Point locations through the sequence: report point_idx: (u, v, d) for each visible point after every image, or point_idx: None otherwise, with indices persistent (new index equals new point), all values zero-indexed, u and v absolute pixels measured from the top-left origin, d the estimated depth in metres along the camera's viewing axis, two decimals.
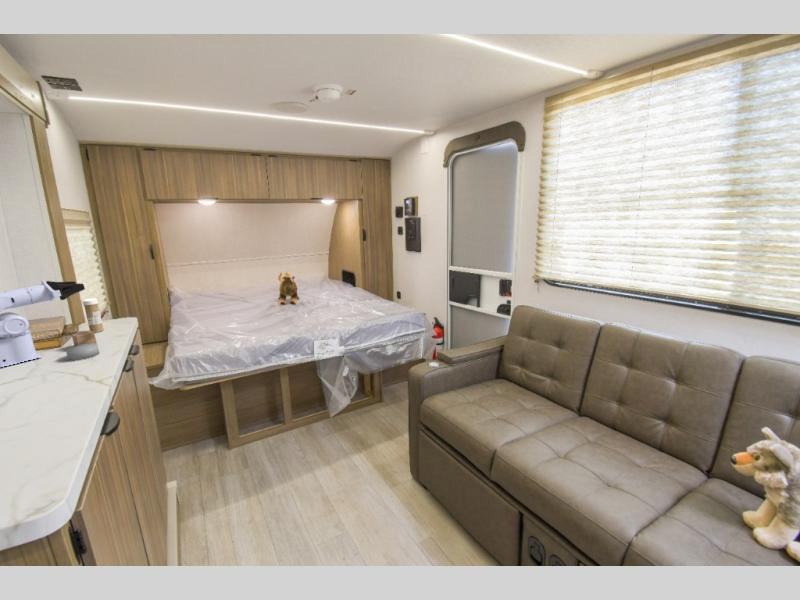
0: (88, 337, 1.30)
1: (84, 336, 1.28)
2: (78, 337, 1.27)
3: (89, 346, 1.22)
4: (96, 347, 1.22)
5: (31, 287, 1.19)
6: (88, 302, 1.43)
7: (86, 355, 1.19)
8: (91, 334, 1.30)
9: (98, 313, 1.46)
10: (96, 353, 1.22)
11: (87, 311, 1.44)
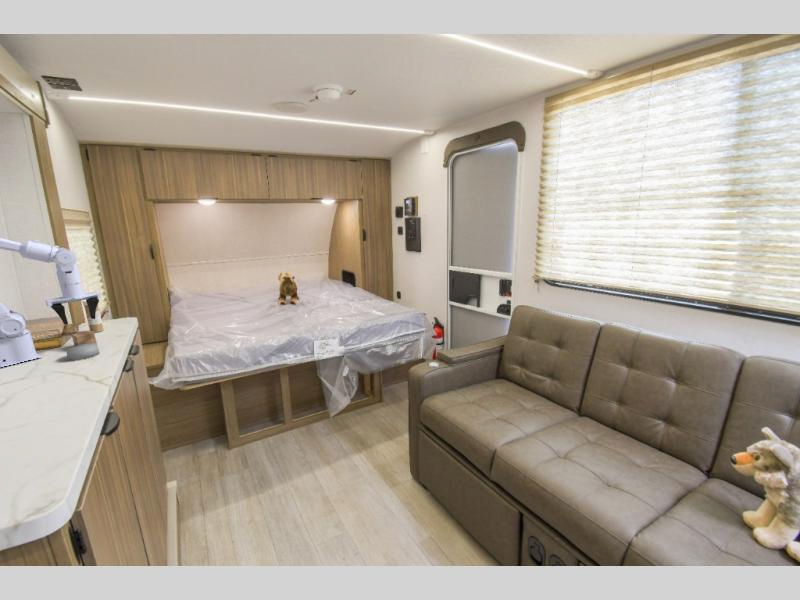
0: (88, 337, 1.29)
1: (84, 336, 1.28)
2: (78, 337, 1.27)
3: (89, 346, 1.22)
4: (96, 347, 1.22)
5: (70, 288, 1.24)
6: None
7: (86, 355, 1.19)
8: (91, 334, 1.30)
9: (98, 313, 1.46)
10: (96, 353, 1.22)
11: (87, 311, 1.44)
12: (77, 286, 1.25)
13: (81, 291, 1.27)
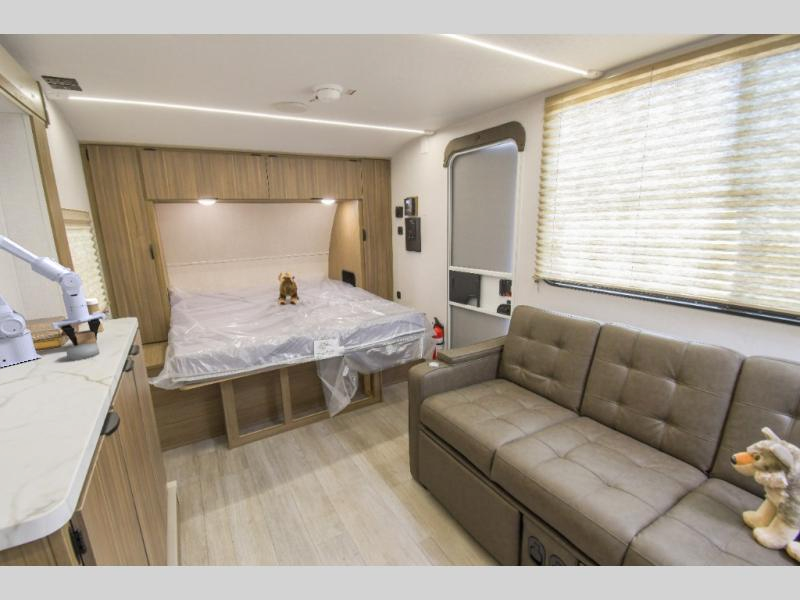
0: (88, 337, 1.29)
1: (84, 336, 1.28)
2: (78, 337, 1.27)
3: (89, 346, 1.22)
4: (96, 347, 1.22)
5: (76, 311, 1.26)
6: (88, 302, 1.43)
7: (86, 355, 1.19)
8: (91, 334, 1.30)
9: (98, 313, 1.46)
10: (96, 353, 1.22)
11: None
12: (82, 308, 1.27)
13: (86, 313, 1.29)
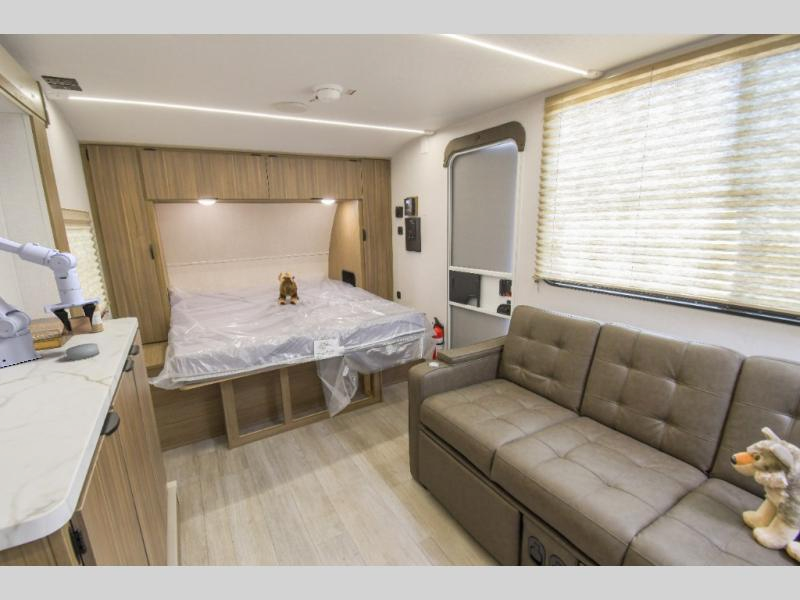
0: (83, 322, 1.23)
1: (78, 321, 1.22)
2: (72, 322, 1.21)
3: (89, 346, 1.22)
4: (96, 347, 1.22)
5: (69, 294, 1.19)
6: None
7: (86, 355, 1.19)
8: (86, 319, 1.24)
9: (98, 313, 1.46)
10: (96, 353, 1.22)
11: None
12: (77, 292, 1.21)
13: (81, 297, 1.22)
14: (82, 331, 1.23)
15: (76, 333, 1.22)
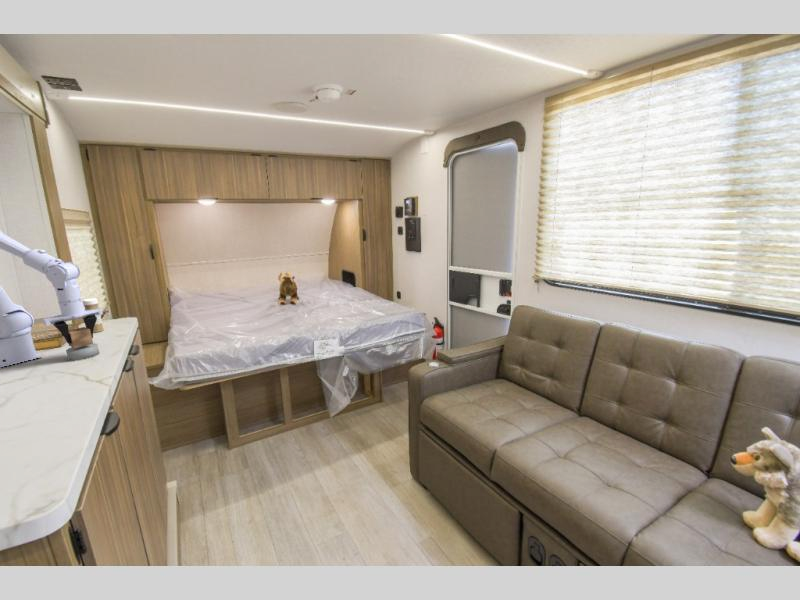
0: (83, 334, 1.19)
1: (79, 333, 1.18)
2: (72, 334, 1.17)
3: (89, 346, 1.22)
4: (96, 347, 1.22)
5: (70, 305, 1.15)
6: (88, 302, 1.43)
7: (86, 355, 1.19)
8: (86, 331, 1.20)
9: None
10: (96, 353, 1.22)
11: None
12: (77, 303, 1.17)
13: (81, 308, 1.18)
14: (83, 343, 1.19)
15: (76, 346, 1.18)
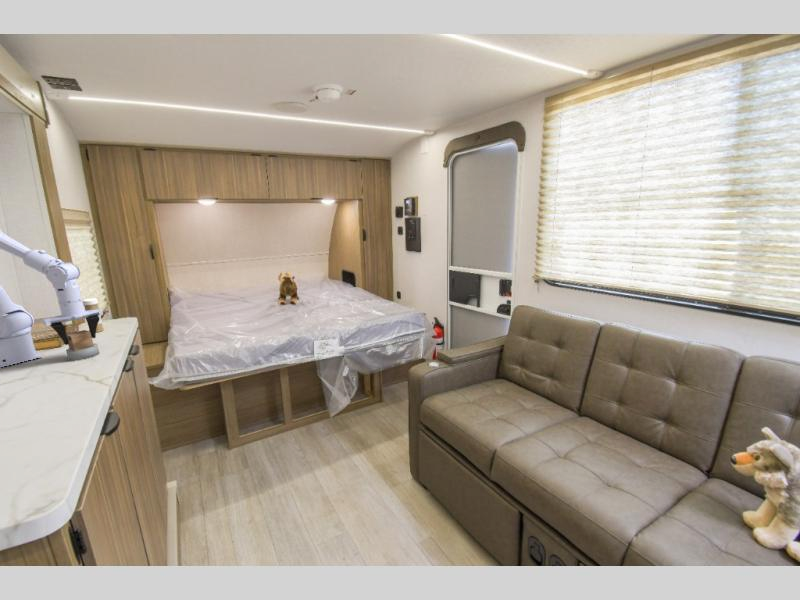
0: (84, 337, 1.20)
1: (79, 336, 1.19)
2: (73, 337, 1.17)
3: None
4: (96, 347, 1.22)
5: (70, 306, 1.15)
6: (88, 302, 1.43)
7: (86, 355, 1.19)
8: (87, 334, 1.20)
9: None
10: (96, 353, 1.22)
11: None
12: (77, 304, 1.17)
13: (82, 309, 1.18)
14: (83, 347, 1.20)
15: (77, 349, 1.18)
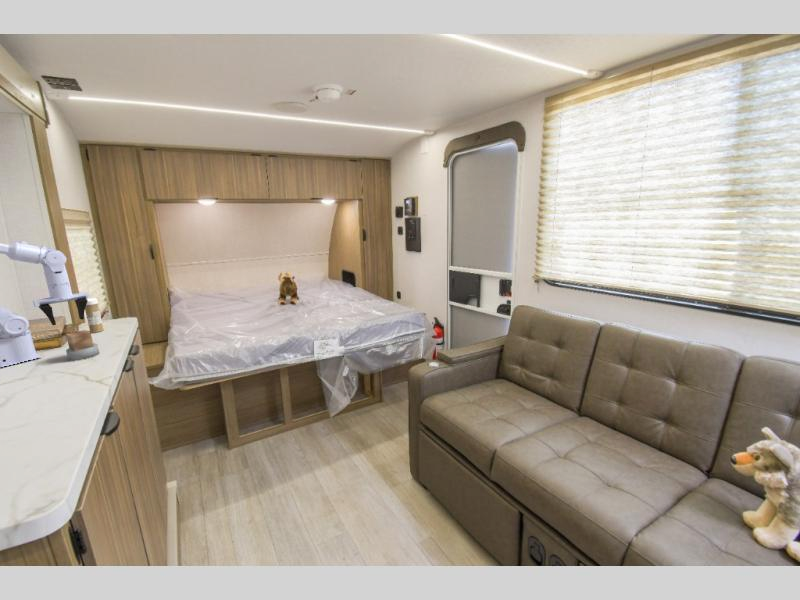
0: (84, 337, 1.20)
1: (79, 336, 1.19)
2: (73, 337, 1.17)
3: None
4: (96, 347, 1.22)
5: (58, 288, 1.23)
6: (88, 302, 1.43)
7: (86, 355, 1.19)
8: (87, 334, 1.20)
9: (98, 313, 1.46)
10: (96, 353, 1.22)
11: (87, 311, 1.44)
12: (65, 286, 1.25)
13: (69, 291, 1.26)
14: (83, 347, 1.20)
15: (77, 349, 1.18)
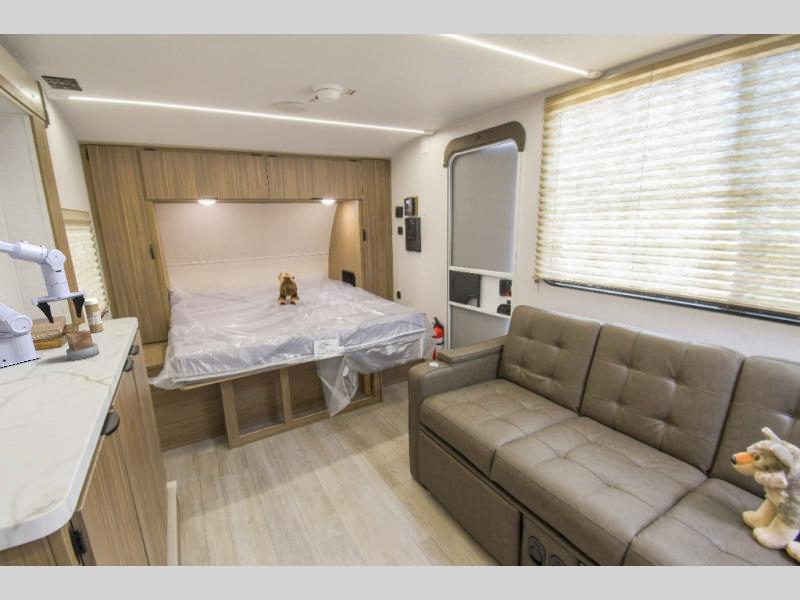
0: (84, 337, 1.20)
1: (79, 336, 1.19)
2: (73, 337, 1.17)
3: None
4: (96, 347, 1.22)
5: (55, 287, 1.26)
6: (88, 302, 1.43)
7: (86, 355, 1.19)
8: (87, 334, 1.20)
9: (98, 313, 1.46)
10: (96, 353, 1.22)
11: (87, 311, 1.44)
12: (63, 285, 1.27)
13: (67, 290, 1.29)
14: (83, 347, 1.20)
15: (77, 349, 1.18)
